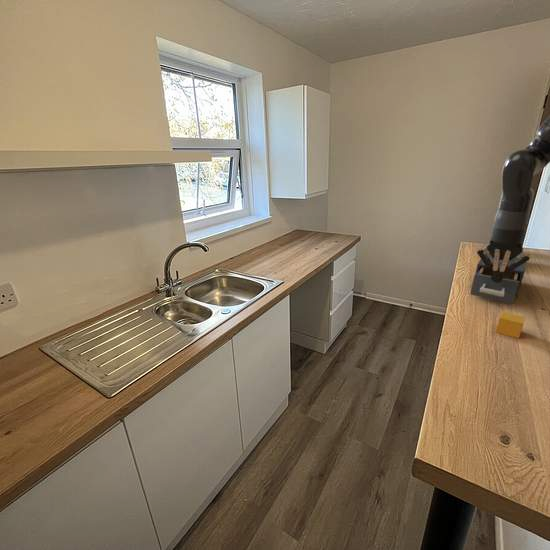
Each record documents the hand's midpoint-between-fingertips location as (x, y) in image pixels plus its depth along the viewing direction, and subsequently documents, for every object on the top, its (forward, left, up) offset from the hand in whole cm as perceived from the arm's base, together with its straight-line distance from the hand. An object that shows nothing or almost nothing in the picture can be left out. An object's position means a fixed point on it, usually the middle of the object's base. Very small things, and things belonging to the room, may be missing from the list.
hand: (495, 281), depth 91 cm
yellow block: (-6, +14, -8) cm, 17 cm away
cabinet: (0, -18, -8) cm, 20 cm away
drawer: (0, -6, -7) cm, 10 cm away
